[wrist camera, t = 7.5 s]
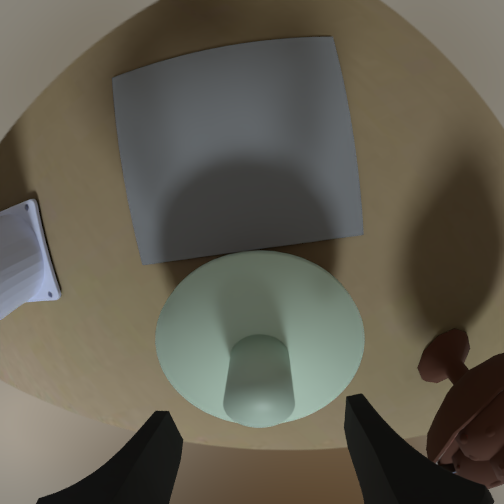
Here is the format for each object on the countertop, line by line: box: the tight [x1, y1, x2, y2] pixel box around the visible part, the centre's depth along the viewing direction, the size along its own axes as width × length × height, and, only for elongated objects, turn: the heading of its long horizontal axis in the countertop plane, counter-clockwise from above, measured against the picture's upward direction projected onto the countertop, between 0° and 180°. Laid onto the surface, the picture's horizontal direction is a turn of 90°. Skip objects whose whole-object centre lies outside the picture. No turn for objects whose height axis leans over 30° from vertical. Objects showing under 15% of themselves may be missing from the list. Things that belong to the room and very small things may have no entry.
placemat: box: [112, 37, 363, 265], centre depth 16 cm, size 14×13×1 cm
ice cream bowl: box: [418, 329, 504, 489], centre depth 13 cm, size 11×11×15 cm
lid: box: [155, 250, 364, 428], centre depth 13 cm, size 11×11×4 cm
